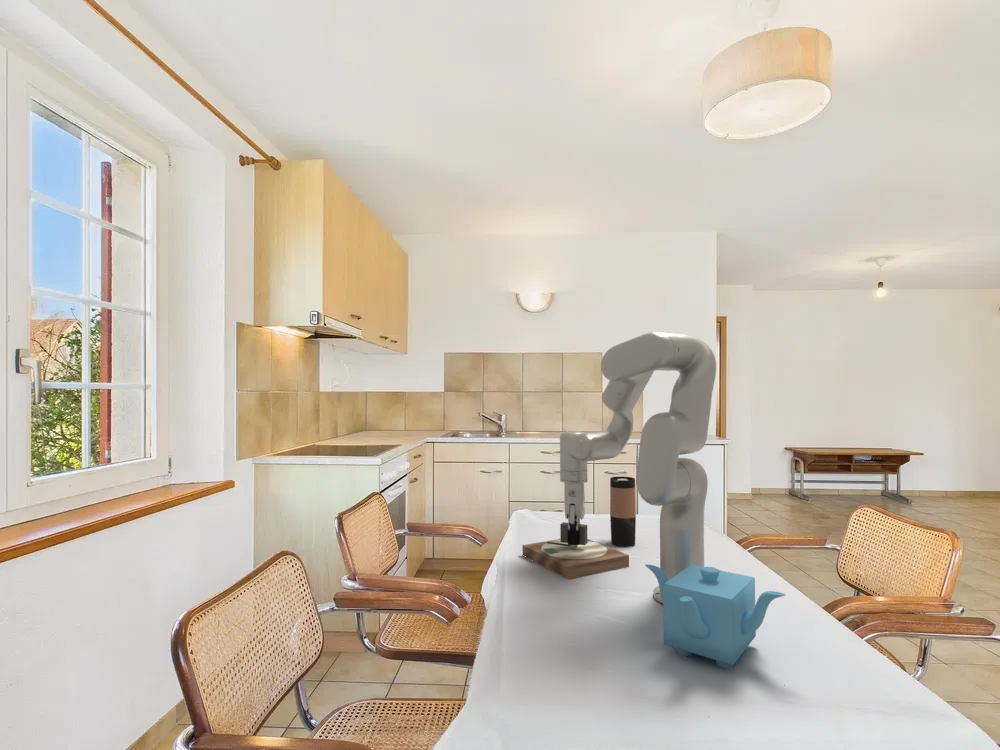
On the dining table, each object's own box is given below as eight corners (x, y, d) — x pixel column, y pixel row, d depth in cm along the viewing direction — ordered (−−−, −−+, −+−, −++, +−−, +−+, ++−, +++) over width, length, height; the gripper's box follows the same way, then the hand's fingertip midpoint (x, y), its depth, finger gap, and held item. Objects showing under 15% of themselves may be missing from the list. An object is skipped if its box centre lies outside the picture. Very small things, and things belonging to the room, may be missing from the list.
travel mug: (634, 540, 170) (633, 476, 170) (637, 547, 162) (637, 480, 163) (609, 540, 171) (608, 476, 171) (611, 547, 163) (611, 480, 163)
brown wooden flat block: (629, 566, 145) (628, 553, 145) (568, 579, 136) (567, 564, 136) (579, 545, 165) (578, 533, 165) (522, 555, 155) (522, 543, 155)
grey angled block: (587, 547, 150) (587, 524, 150) (584, 549, 148) (584, 526, 148) (548, 542, 155) (548, 520, 155) (545, 544, 153) (545, 522, 153)
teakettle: (731, 626, 109) (730, 552, 109) (791, 674, 90) (789, 585, 91) (640, 631, 107) (639, 555, 107) (682, 681, 88) (681, 590, 89)
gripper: (585, 481, 142) (586, 552, 141) (589, 471, 158) (589, 535, 157) (556, 480, 143) (557, 550, 143) (563, 471, 160) (563, 534, 159)
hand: (574, 541), depth 150 cm, fingers closed on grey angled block, 3 cm apart
